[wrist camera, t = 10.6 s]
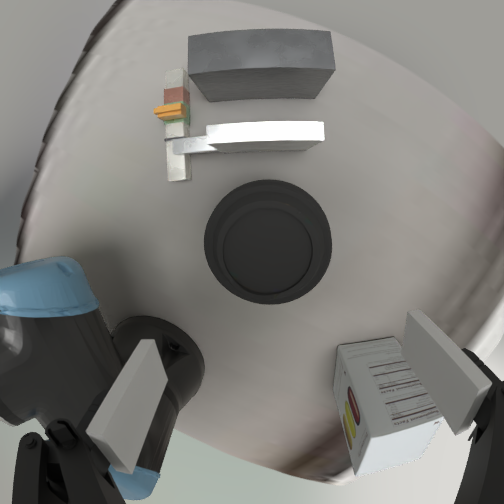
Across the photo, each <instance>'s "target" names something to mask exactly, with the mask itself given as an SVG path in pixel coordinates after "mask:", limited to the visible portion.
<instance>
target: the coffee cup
mask: <svg viewBox="0 0 504 504" xmlns="http://www.w3.org/2000/svg"><path fill="white" fill-rule="evenodd" d="M204 250H205V255H206V259H207V262H208V265H209V267H210V269H211V271H212V273H213V274H214V276H215V277H216V278H217V280H218V281H219V282H220V283H221V284H222V285H223V286H224V287H225V288H226V289H227V290H229V291H230V292H231V293H233V294H234V295H236V296H238V297H240V298H242V299H244V300H247V301H250V302H254V303H259V304H281V303H286V302H290V301H293V300H295V299H298V298H300V297H302V296H303V295H305V294H306V293H308V292H309V291H310V290H312V289H313V288H314V287H315V286H316V285H317V284H318V283H319V281H320V280H321V279H322V277H323V276H324V274H325V272H326V270H327V268H328V266H329V263H330V259H331V253H332V239H331V232H330V227H329V223H328V220H327V218H326V215H325V213H324V212H323V210H322V208H321V207H320V205H319V204H318V203H317V202H316V200H315V199H314V198H313V197H312V196H311V195H309V194H308V193H307V192H306V191H304V190H303V189H301V188H299V187H297V186H295V185H293V184H290V183H287V182H284V181H279V180H258V181H253V182H250V183H247V184H244V185H242V186H240V187H238V188H236V189H234V190H233V191H231V192H230V193H229V194H227V195H226V196H225V197H224V198H223V199H222V200H221V201H220V202H219V204H218V205H217V206H216V208H215V209H214V211H213V213H212V215H211V216H210V218H209V221H208V223H207V226H206V230H205V235H204Z"/></svg>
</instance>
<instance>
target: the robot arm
mask: <svg viewBox="0 0 504 504" xmlns="http://www.w3.org/2000/svg"><path fill="white" fill-rule="evenodd" d="M98 307H99V301H98V299H97V298H96V297H95V296H94V294H93V292H92V290H91V288H90V285H89V283H88V280H87V278H86V276H85V273H84V271H83V269H82V267H81V265H80V264H79V263H78V262H77V261H75V260H74V259H72V258H70V257H65V256H59V257H51V258H45V259H40V260H35V261H30V262H26V263H22V264H18V265H14V266H11V267H7V268H4V269H1V270H0V421H2V422H4V423H6V424H7V425H10V426H18V425H20V424H22V423H24V422H26V421H28V420H30V419H33V418H36V419H37V420H38V421H39V422H40V424H41V425H42V426H43V428H44V429H45V434H46V435H47V437H48V438H49V440H46V441H45V440H43V439H42V437H41V436H40V435H39V434H38V433H36V432H30V433H27V434H26V435H24V436H23V437H22V438H21V440H20V442H19V447H18V453H17V459H16V466H15V474H14V483H13V495H12V504H126V503H125V501H124V499H128V500H141V499H145V498H147V497H148V496H150V495H151V493H152V491H153V489H154V487H155V485H156V483H157V480H158V478H160V474H159V473H160V469H161V466H162V463H163V460H164V457H165V453H166V450H167V447H168V444H169V441H170V437H171V434H172V431H173V428H174V425H175V422H176V419H177V416H178V413H179V411H180V410H181V409H182V408H183V407H184V406H185V405H186V404H187V403H188V401H189V400H190V399H191V398H192V397H193V396H194V395H195V394H196V393H197V391H198V390H199V388H200V386H201V382H202V379H203V375H204V361H203V357H202V355H201V352H200V350H199V349H198V347H197V346H196V344H195V343H194V342H193V340H192V339H191V338H190V337H189V336H188V335H187V334H186V333H184V332H183V331H182V330H180V329H179V328H178V327H176V326H174V325H173V324H171V323H169V322H166V321H164V320H161V319H158V318H154V317H149V316H137V317H131V318H128V319H126V320H124V321H123V322H121V323H120V324H119V325H118V326H117V327H116V328H115V329H114V330H113V332H112V333H111V334H110V333H109V331H108V329H107V326H106V324H105V322H104V320H103V317H102V315H101V313H100V310H99V308H98ZM401 355H402V356H403V358H404V359H405V361H406V362H407V363H408V365H409V366H410V368H411V369H412V371H413V372H414V373H415V375H416V376H417V378H418V379H419V381H420V382H421V384H422V385H423V386H424V388H425V389H426V391H427V392H428V394H429V395H430V397H431V398H432V400H433V401H434V403H435V404H436V406H437V407H438V409H439V411H440V412H441V414H442V415H443V417H444V418H445V420H446V421H447V423H448V425H449V426H450V428H451V429H452V431H453V432H454V434H455V435H458V434H460V433H462V432H463V431H466V430H467V429H469V427H470V426H471V424H472V422H473V420H474V421H475V422H476V424H477V425H476V427H475V429H474V430H473V432H472V434H471V435H470V437H469V439H468V441H470V439H471V438H472V437H473V439H472V444H471V448H470V453H469V457H468V461H467V465H466V468H465V472H464V475H463V479H462V482H461V485H460V488H459V491H458V494H457V497H456V500H455V502H454V504H504V381H501V380H499V378H498V377H497V376H496V375H495V374H494V373H493V372H492V371H491V370H490V369H489V368H488V367H487V366H486V365H484V363H483V362H482V361H481V360H479V358H478V357H477V356H476V355H475V354H474V353H473V352H472V351H470V350H468V349H466V348H464V349H460V348H459V347H458V346H457V345H456V344H455V343H454V342H453V341H452V340H451V339H450V338H449V337H448V336H447V335H446V334H445V333H444V332H443V331H442V330H441V329H440V328H439V327H438V326H437V325H436V324H435V323H434V322H432V321H431V320H430V319H429V318H428V317H427V316H426V315H425V314H424V313H423V312H422V311H421V310H420V309H417V310H413V311H408V312H407V320H406V326H405V333H404V339H403V344H402V350H401Z"/></svg>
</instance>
